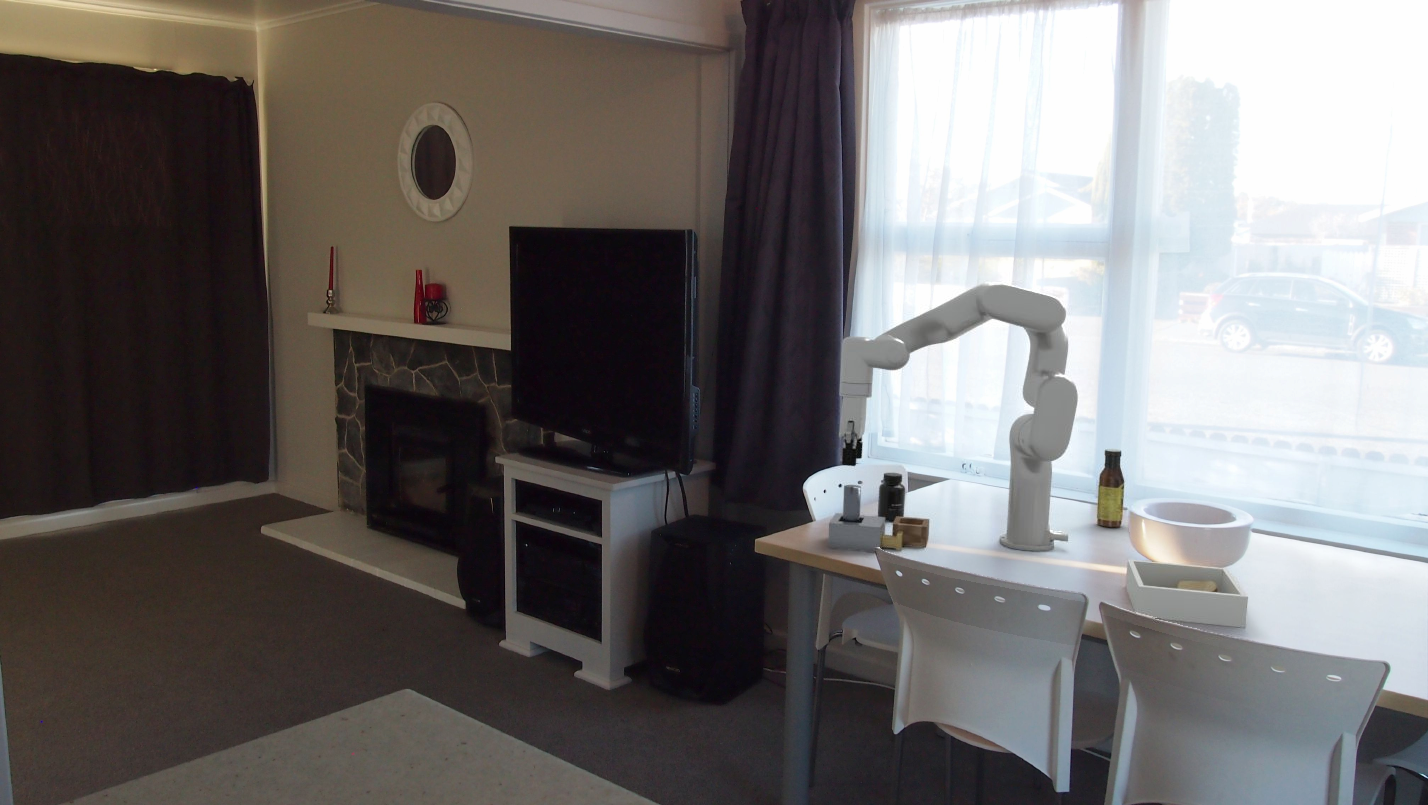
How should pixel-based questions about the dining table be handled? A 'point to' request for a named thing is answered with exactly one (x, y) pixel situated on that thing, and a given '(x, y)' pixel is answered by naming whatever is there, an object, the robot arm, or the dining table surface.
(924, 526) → the wooden open box
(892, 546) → the tan blocky piece
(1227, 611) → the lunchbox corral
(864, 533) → the socket block
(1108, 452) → the sauce bottle
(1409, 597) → the dining table surface
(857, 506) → the grey rounded bar
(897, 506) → the supplement bottle
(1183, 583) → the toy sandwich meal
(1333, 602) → the dining table surface
